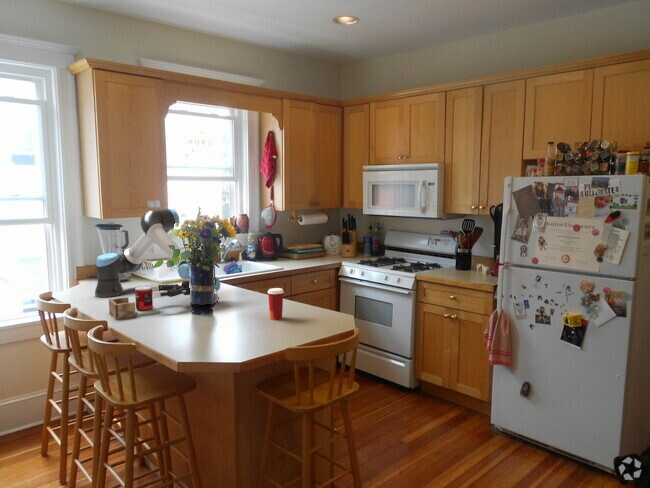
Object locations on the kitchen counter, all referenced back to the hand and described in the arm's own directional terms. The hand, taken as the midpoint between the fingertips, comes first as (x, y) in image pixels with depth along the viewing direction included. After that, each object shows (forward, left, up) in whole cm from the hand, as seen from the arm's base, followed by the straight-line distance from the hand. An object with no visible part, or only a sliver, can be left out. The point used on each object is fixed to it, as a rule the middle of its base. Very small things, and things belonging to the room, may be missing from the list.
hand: (149, 292), depth 248 cm
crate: (+3, -7, -9) cm, 12 cm away
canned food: (+1, -2, -8) cm, 9 cm away
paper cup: (+22, +62, -10) cm, 67 cm away
